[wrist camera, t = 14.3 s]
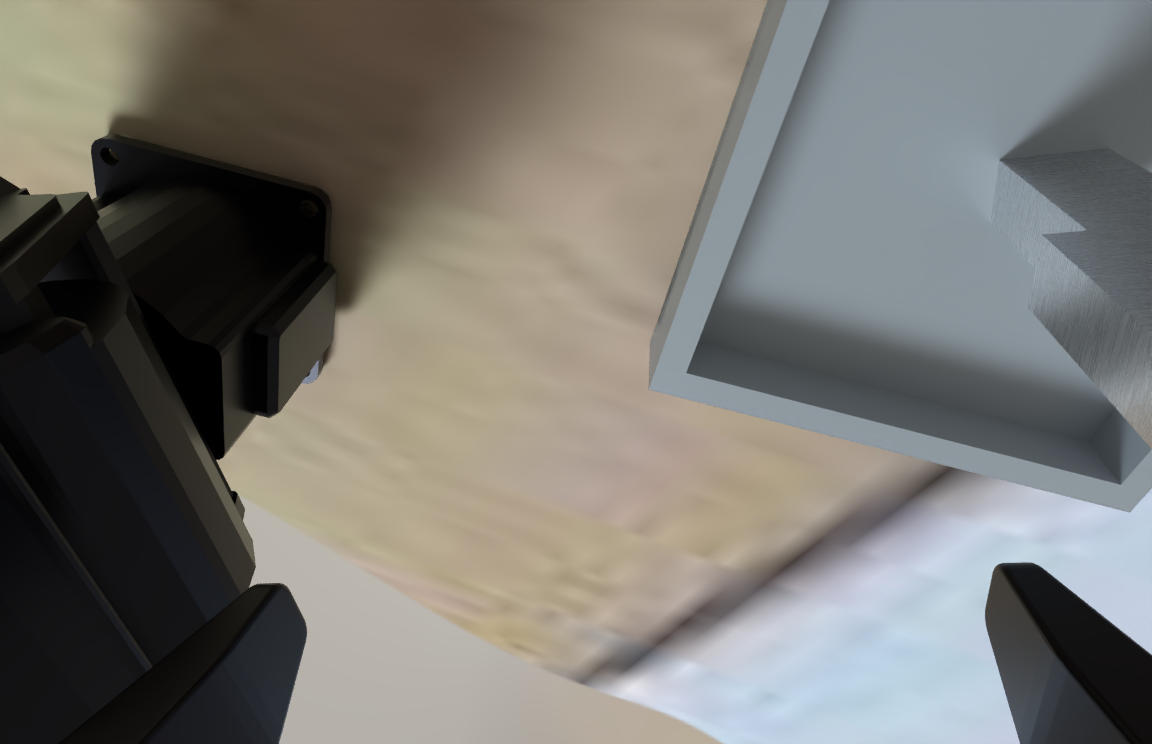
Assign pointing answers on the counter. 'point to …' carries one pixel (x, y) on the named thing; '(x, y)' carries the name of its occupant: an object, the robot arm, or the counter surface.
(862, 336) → the tray
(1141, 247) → the grey rectangular block
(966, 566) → the counter surface
